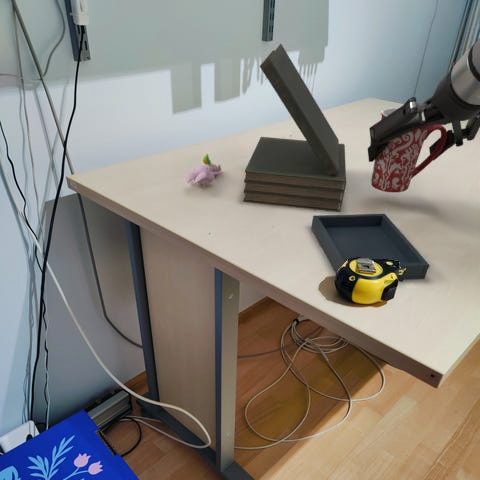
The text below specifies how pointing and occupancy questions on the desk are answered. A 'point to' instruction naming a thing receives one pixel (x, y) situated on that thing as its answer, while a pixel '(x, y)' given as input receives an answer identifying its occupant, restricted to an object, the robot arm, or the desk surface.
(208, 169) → the pink toy figure
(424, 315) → the desk surface
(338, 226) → the tray
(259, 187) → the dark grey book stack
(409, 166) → the mug
